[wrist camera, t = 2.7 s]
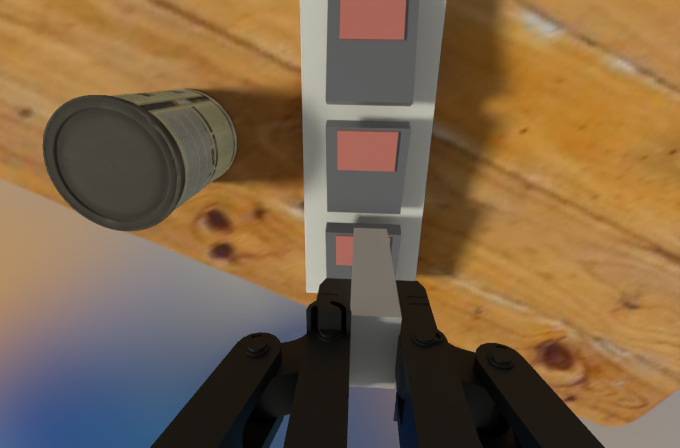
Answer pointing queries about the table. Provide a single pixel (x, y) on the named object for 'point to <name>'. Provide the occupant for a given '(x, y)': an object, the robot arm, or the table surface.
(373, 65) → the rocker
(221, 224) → the table surface
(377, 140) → the rocker
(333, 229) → the rocker
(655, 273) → the table surface
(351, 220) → the power strip
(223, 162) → the coffee can
